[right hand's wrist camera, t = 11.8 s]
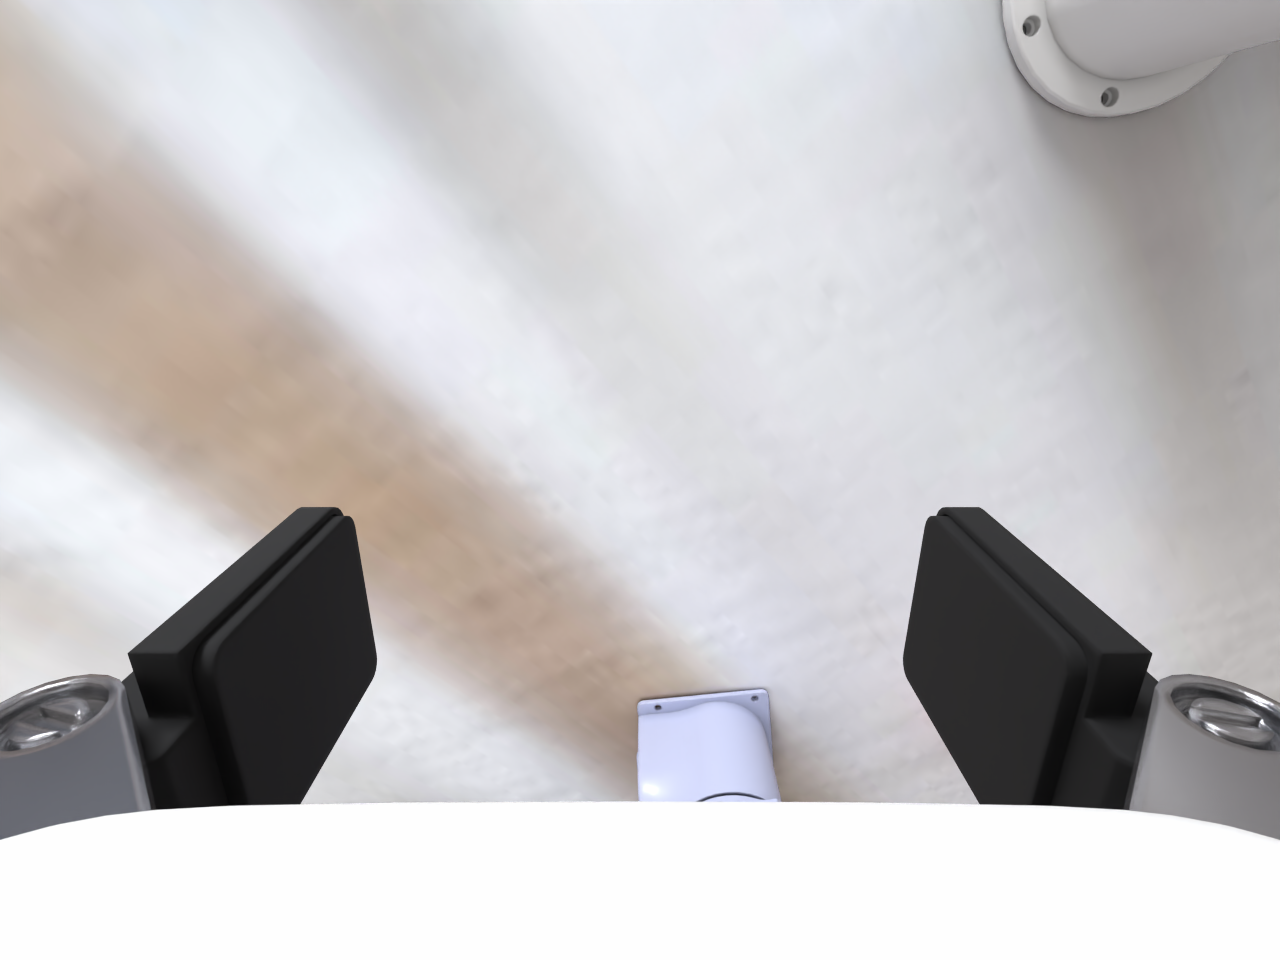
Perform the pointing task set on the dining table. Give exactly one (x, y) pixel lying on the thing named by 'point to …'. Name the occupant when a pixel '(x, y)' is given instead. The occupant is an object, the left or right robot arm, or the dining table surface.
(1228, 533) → the dining table surface
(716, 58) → the dining table surface
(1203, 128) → the dining table surface
